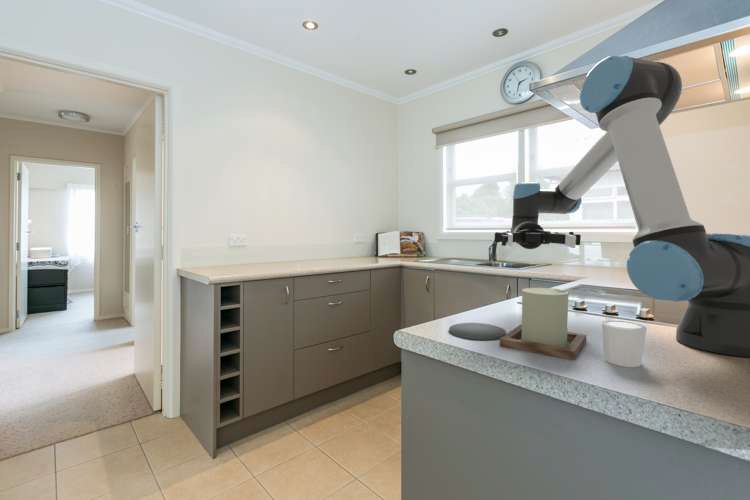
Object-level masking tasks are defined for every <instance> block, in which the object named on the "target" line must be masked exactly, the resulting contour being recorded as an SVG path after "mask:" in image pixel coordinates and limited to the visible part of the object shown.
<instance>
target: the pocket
mask: <svg viewBox="0 0 750 500" xmlns="http://www.w3.org/2000/svg"><path fill="white" fill-rule="evenodd" d="M521 335H522V324H519V325H518V326H516V327H514V328H513V329H512V330H510V331H509V332H507V333H506V335H504V336H503V337H501V338H500V339H499V346H500V347H504V348H509V349H514V350H520V351H524V352H529V353H535V354H540V355H545V356H549V357H550V356H552V357H556V358H561V359H566V360H570V361H571V360H572V361H575V359H576V358H577V357H578V355H579V353H580V352H581V350H582V349H583V347H584V346H585V344H586V343H587V334H583V333H579V332H571V331H567V342H570V343H569V345H568V347H567V348H563V347H558V346H552V345H546V344H541V343H535V342H529V341H523V340H521Z"/></svg>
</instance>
